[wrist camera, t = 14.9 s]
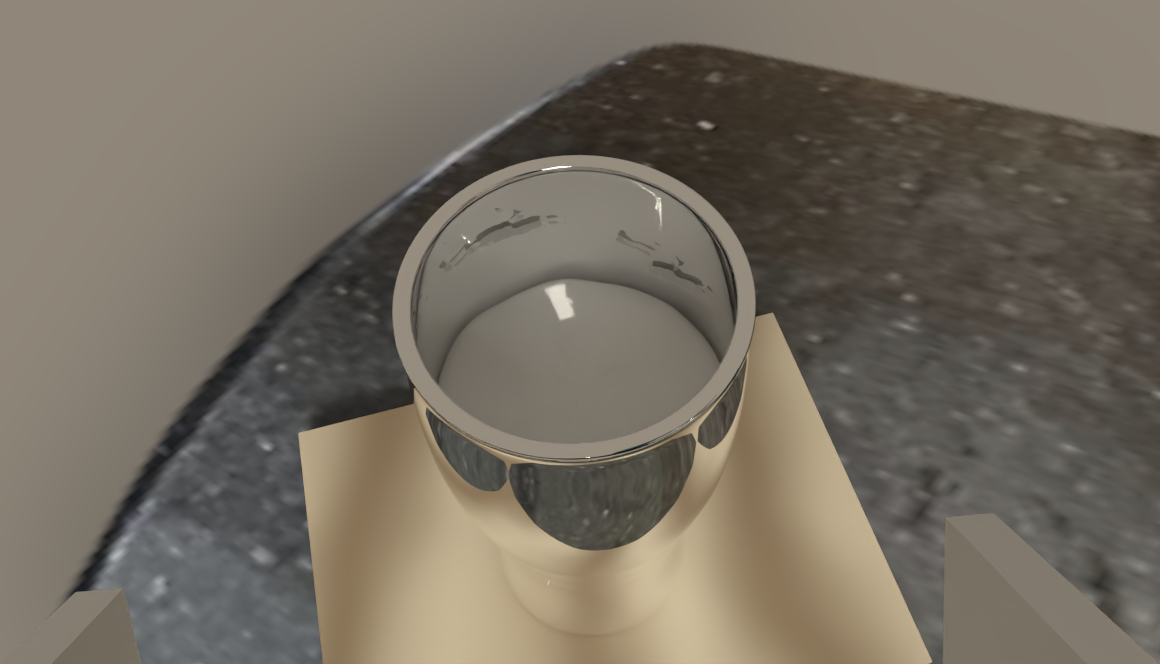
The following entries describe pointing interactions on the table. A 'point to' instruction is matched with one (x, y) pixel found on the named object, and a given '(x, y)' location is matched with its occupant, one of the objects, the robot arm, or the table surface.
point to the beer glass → (579, 374)
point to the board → (693, 609)
